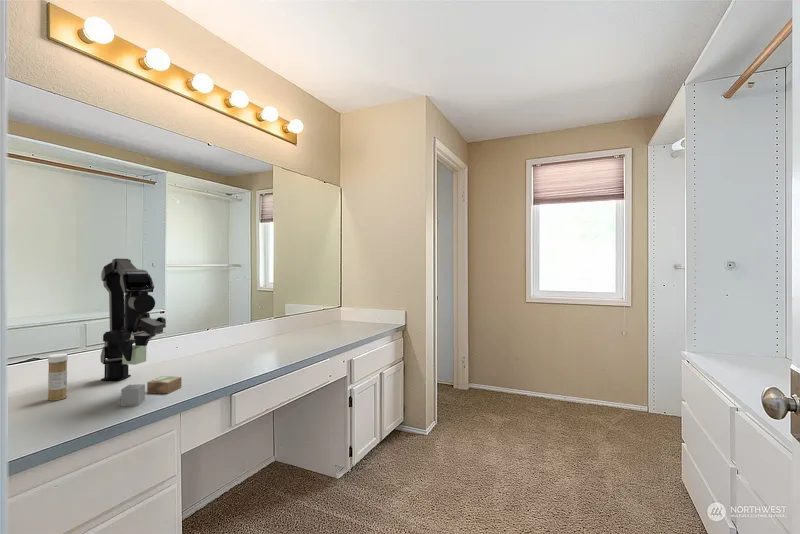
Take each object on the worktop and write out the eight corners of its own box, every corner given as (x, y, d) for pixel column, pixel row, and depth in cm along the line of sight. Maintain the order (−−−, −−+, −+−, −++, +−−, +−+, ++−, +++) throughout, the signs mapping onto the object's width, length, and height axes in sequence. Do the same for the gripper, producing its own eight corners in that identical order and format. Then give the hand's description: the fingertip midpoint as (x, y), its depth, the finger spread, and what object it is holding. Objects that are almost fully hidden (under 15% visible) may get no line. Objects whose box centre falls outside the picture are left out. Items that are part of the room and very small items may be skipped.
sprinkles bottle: (54, 396, 126) (55, 353, 125) (70, 396, 126) (71, 352, 126) (43, 401, 121) (43, 356, 121) (59, 401, 121) (60, 356, 121)
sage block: (122, 364, 127) (122, 348, 127) (133, 360, 131) (133, 345, 131) (135, 364, 126) (135, 348, 126) (146, 361, 131) (146, 345, 131)
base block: (147, 392, 130) (147, 381, 130) (161, 386, 137) (161, 375, 137) (168, 393, 130) (168, 382, 130) (181, 387, 137) (181, 376, 137)
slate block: (121, 406, 118) (121, 389, 118) (128, 401, 123) (128, 384, 122) (138, 405, 119) (138, 388, 119) (144, 400, 123) (144, 384, 123)
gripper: (136, 314, 119) (136, 367, 119) (178, 307, 137) (177, 353, 137) (101, 313, 120) (101, 366, 120) (147, 306, 138) (146, 352, 138)
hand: (134, 359), depth 129 cm, fingers closed on sage block, 4 cm apart
